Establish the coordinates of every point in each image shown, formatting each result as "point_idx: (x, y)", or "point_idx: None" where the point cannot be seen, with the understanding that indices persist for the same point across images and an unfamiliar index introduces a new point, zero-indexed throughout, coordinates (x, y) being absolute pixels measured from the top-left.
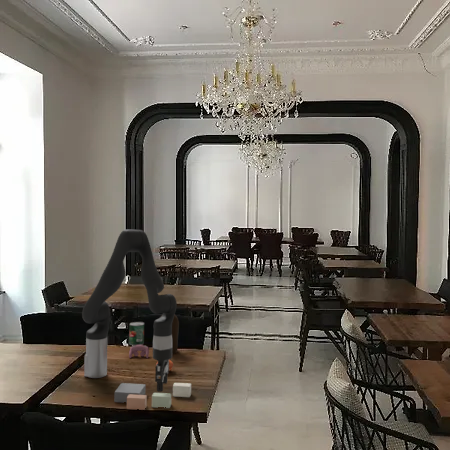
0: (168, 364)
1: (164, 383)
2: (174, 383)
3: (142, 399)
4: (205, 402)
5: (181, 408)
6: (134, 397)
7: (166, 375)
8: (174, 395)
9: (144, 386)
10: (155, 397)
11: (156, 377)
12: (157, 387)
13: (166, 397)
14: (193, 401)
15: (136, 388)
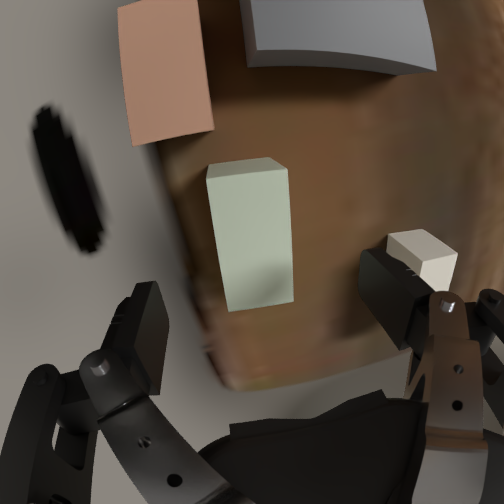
0: (492, 396)
1: (360, 272)
2: (448, 258)
3: (131, 126)
4: (322, 373)
5: (238, 322)
6: (133, 54)
7: (395, 339)
8: (390, 244)
9: (411, 65)
10: (211, 207)
11: (24, 419)
12: (130, 307)
13: (224, 289)
14: (330, 338)
15: (353, 12)
